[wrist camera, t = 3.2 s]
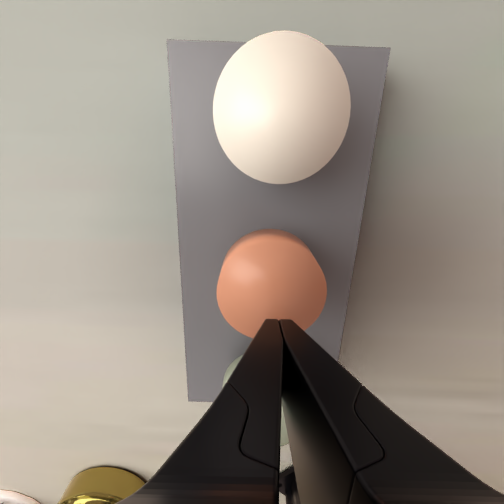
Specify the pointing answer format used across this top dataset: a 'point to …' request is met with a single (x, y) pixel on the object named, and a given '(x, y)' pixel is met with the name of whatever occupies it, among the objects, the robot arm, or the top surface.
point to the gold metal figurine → (101, 486)
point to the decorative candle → (15, 498)
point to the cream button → (281, 107)
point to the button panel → (261, 203)
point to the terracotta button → (270, 282)
